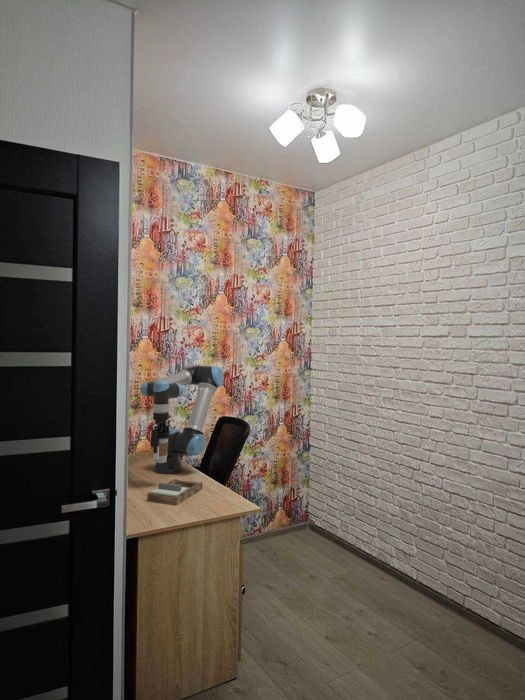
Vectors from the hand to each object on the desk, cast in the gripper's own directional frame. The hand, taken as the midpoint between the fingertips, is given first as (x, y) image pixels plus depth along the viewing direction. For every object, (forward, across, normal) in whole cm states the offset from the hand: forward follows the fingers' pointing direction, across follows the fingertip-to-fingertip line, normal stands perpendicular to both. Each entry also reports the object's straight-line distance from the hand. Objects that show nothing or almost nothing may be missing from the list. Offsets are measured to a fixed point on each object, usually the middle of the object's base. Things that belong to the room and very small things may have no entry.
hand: (160, 457), depth 243 cm
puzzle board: (+14, +10, +14) cm, 23 cm away
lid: (+11, +16, +14) cm, 24 cm away
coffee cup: (+2, 0, 0) cm, 2 cm away
